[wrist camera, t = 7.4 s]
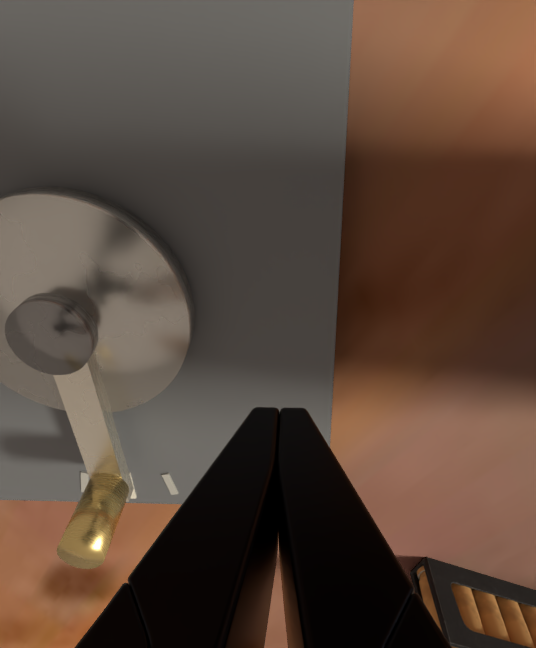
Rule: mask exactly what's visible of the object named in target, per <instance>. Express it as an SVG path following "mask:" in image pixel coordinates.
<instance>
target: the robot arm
mask: <svg viewBox="0 0 536 648" xmlns="http://www.w3.org/2000/svg"><path fill="white" fill-rule="evenodd" d="M278 534H279V557H280V570H281V580H282V590H283V601H284V611H285V622H286V632H287V642H288V648H452V647H451V645H450V644H449V642H448V641H447V639H446V638H445V636H444V635H443V633H442V631H441V630H440V628H439V627H438V625H437V624H436V622H435V620H434V619H433V617H432V615H431V614H430V612H429V610H428V609H427V607H426V605H425V604H424V602H423V600H422V599H421V597H420V596H419V594H417V593H414V590H415V589H414V586H413V585H412V583H411V581H410V580H409V578H408V576H407V575H406V573H405V571H404V570H403V568H402V566H401V565H400V563H399V561H398V560H397V558H396V556H395V555H394V553H393V551H392V550H391V548H390V546H389V545H388V543H387V542H386V540H385V538H384V537H383V535H382V533H381V532H380V530H379V528H378V527H377V525H376V523H375V522H374V520H373V518H372V517H371V515H370V513H369V512H368V510H367V508H366V507H365V505H364V503H363V502H362V500H361V498H360V497H359V495H358V494H357V492H356V490H355V489H354V487H353V485H352V484H351V482H350V480H349V479H348V477H347V475H346V474H345V472H344V470H343V469H342V467H341V465H340V464H339V462H338V460H337V459H336V457H335V455H334V454H333V452H332V451H331V449H330V447H329V446H328V444H327V442H326V441H325V439H324V437H323V436H322V434H321V432H320V431H319V429H318V427H317V426H316V424H315V422H314V421H313V419H312V417H311V416H310V414H309V412H308V411H307V410H306V409H305V408H287V407H285V408H282V409H281V410H280V412H279V409H278V408H276V407H256V408H254V409H252V411H251V412H250V413H249V415H248V416H247V417H246V419H245V420H244V421H243V423H242V424H241V425H240V427H239V428H238V429H237V431H236V432H235V434H234V435H233V436H232V438H231V439H230V440H229V442H228V443H227V444H226V446H225V447H224V448H223V450H222V451H221V452H220V454H219V455H218V457H217V458H216V459H215V461H214V462H213V463H212V465H211V466H210V467H209V469H208V470H207V471H206V473H205V474H204V476H203V477H202V478H201V480H200V481H199V482H198V484H197V485H196V486H195V488H194V489H193V490H192V492H191V493H190V494H189V496H188V497H187V499H186V500H185V501H184V503H183V504H182V505H181V507H180V508H179V509H178V511H177V512H176V513H175V515H174V516H173V518H172V519H171V520H170V522H169V523H168V524H167V526H166V527H165V528H164V530H163V531H162V532H161V534H160V535H159V536H158V538H157V539H156V541H155V542H154V543H153V545H152V546H151V547H150V549H149V550H148V551H147V553H146V554H145V555H144V557H143V558H142V560H141V561H140V562H139V564H138V565H137V566H136V568H135V569H134V570H133V572H132V573H131V574H130V576H129V577H128V583H129V584H128V583H124V584H123V585H122V586H121V587H120V589H119V590H118V592H117V593H116V594H115V596H114V597H113V598H112V600H111V601H110V602H109V604H108V605H107V607H106V608H105V609H104V611H103V612H102V613H101V615H100V616H99V617H98V618H97V620H96V621H95V622H94V624H93V625H92V626H91V627H90V629H89V630H88V631H87V633H86V634H85V635H84V636H83V638H82V639H81V640H80V642H79V643H78V644H77V645H76V647H75V648H264V644H265V637H266V630H267V623H268V616H269V609H270V602H271V595H272V588H273V582H274V575H275V568H276V560H277V551H278Z"/></svg>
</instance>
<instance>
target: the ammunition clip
mask: <svg viewBox="0 0 536 648" xmlns="http://www.w3.org/2000/svg"><path fill="white" fill-rule="evenodd" d="M410 574H411V578H412V582H413V586H414V589H415V593H417V594H419V596H420V597H421V599H422V600H423V602H424V604H425V605H426V607H427V609H428V610H429V612H430V614H431V615H432V617H433V619H434V620H435V622H436V624H437V625H438V627H439V628H440V630H441V631H442V633H443V635H444V636H445V638H446V639H447V641H448V642H449V644H450V645H451V647H452V648H536V590H533V589H530V588H526V587H523V586H520V585H517V584H513V583H510V582H507V581H504V580H500V579H497V578H494V577H490V576H487V575H484V574H481V573H477V572H474V571H471V570H468V569H464V568H461V567H458V566H454V565H451V564H448V563H445V562H441V561H438V560H435V559H432V558H428V557H426V558H425V559H423V560H422V561H421V562H420V563H419V564H418V565H417V566H416V567H415V568H414V569H413V570H412V571H411V572H410Z"/></svg>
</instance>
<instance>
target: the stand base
mask: <svg viewBox="0 0 536 648" xmlns="http://www.w3.org/2000/svg"><path fill="white" fill-rule="evenodd" d="M353 4H354V0H0V197H3V196H5V195H7V194H9V193H12V192H16V191H19V190H23V189H27V188H36V187H62V188H69V189H75V190H80V191H83V192H87V193H90V194H94V195H97V196H99V197H102V198H104V199H106V200H109V201H111V202H113V203H115V204H117V205H119V206H121V207H122V208H124V209H126V210H128V211H129V212H131V213H132V214H134V215H135V216H136V217H138V218H139V219H141V220H142V221H143V222H145V223H146V224H147V225H148V226H149V227H150V228H151V229H152V230H153V231H154V232H156V233H157V234H158V235H159V237H160V238H161V239H162V240H163V241H164V242H165V243H166V245H167V246H168V247H169V248H170V250H171V251H172V253H173V254H174V255H175V257H176V258H177V260H178V262H179V263H180V265H181V267H182V269H183V271H184V273H185V275H186V278H187V280H188V283H189V286H190V288H191V293H192V297H193V302H194V314H195V319H194V330H193V334H192V338H191V342H190V345H189V348H188V351H187V354H186V356H185V359H184V361H183V364H182V366H181V368H180V370H179V372H178V373H177V375H176V376H175V378H174V379H173V381H172V382H171V383H170V384H169V385H168V386H167V387H166V388H165V389H164V390H163V391H162V392H160V393H159V394H158V395H157V396H155V397H154V398H152V399H150V400H149V401H147V402H145V403H143V404H141V405H138V406H136V407H133V408H130V409H127V410H123V411H118V412H112V414H113V418H114V421H115V425H116V428H117V432H118V435H119V439H120V442H121V446H122V449H123V453H124V456H125V460H126V463H127V467H128V470H129V474H130V477H131V481H132V484H133V488H134V489H133V492H132V495H131V498H130V500H129V502H126V503H157V504H183V503H184V501H185V500H186V499H187V497H188V496H189V494H190V493H191V492H192V490H193V489H194V488H195V486H196V485H197V484H198V482H199V481H200V480H201V478H202V477H203V476H204V474H205V473H206V471H207V470H208V469H209V467H210V466H211V465H212V463H213V462H214V461H215V459H216V458H217V457H218V455H219V454H220V452H221V451H222V450H223V448H224V447H225V446H226V444H227V443H228V442H229V440H230V439H231V438H232V436H233V435H234V434H235V432H236V431H237V429H238V428H239V427H240V425H241V424H242V423H243V421H244V420H245V419H246V417H247V416H248V415H249V413H250V412H251V411H252V409H254V408H256V407H276V408H278V409H279V412H280V410H281V409H282V408H285V407H287V408H305V409H306V410H307V411H308V412H309V414H310V416H311V417H312V419H313V421H314V422H315V424H316V426H317V427H318V429H319V431H320V432H321V434H322V436H323V437H324V439H325V441H326V442H327V444H328V446H329V447H330V434H331V416H332V397H333V378H334V360H335V341H336V322H337V303H338V285H339V266H340V247H341V228H342V210H343V191H344V172H345V154H346V135H347V116H348V97H349V79H350V60H351V41H352V22H353ZM89 480H90V478H89V475H88V472H87V470H86V467H85V464H84V461H83V458H82V455H81V453H80V450H79V447H78V444H77V441H76V438H75V435H74V433H73V430H72V427H71V424H70V421H69V418H68V415H67V413H66V411H64V410H60V409H56V408H52V407H49V406H46V405H43V404H40V403H38V402H35V401H33V400H31V399H28V398H26V397H24V396H22V395H20V394H18V393H17V392H15V391H13V390H11V389H10V388H8V387H7V386H5V385H4V384H2V383H1V382H0V500H34V501H75V502H79V501H80V498H81V496H82V494H83V492H84V490H85V488H86V486H87V484H88V482H89Z"/></svg>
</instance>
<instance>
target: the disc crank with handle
mask: <svg viewBox="0 0 536 648" xmlns="http://www.w3.org/2000/svg"><path fill="white" fill-rule="evenodd" d="M194 319H195V314H194V302H193V297H192V293H191V288H190V286H189V283H188V280H187V278H186V275H185V273H184V271H183V269H182V267H181V265H180V263H179V262H178V260H177V258H176V257H175V255H174V254H173V253H172V251H171V250H170V248H169V247H168V246H167V245H166V243H165V242H164V241H163V240H162V239H161V238H160V237H159V235H158V234H157V233H156V232H154V231H153V230H152V229H151V228H150V227H149V226H148V225H147V224H146V223H145V222H143V221H142V220H141V219H139V218H138V217H136V216H135V215H134V214H132V213H131V212H129V211H128V210H126V209H124V208H122V207H121V206H119V205H117V204H115V203H113V202H111V201H109V200H106V199H104V198H102V197H99V196H97V195H94V194H90V193H87V192H83V191H80V190H75V189H69V188H62V187H36V188H27V189H23V190H19V191H16V192H12V193H9V194H7V195H5V196H3V197H0V382H1V383H2V384H4V385H5V386H7V387H8V388H10V389H11V390H13V391H15V392H17V393H18V394H20V395H22V396H24V397H26V398H28V399H31V400H33V401H35V402H38V403H40V404H43V405H46V406H49V407H52V408H56V409H60V410H64V411H66V413H67V415H68V418H69V421H70V424H71V427H72V430H73V433H74V435H75V438H76V441H77V444H78V447H79V450H80V453H81V455H82V458H83V461H84V464H85V467H86V470H87V472H88V475H89V478H90V480H89V482H88V484H87V486H86V488H85V490H84V492H83V494H82V496H81V498H80V501H79V503H78V505H77V507H76V509H75V511H74V513H73V515H72V518H71V520H70V522H69V524H68V526H67V528H66V530H65V532H64V534H63V537H62V539H61V541H60V543H59V545H58V547H57V554H58V556H59V557H60V558H61V559H62V560H63V561H64V562H66V563H67V564H69V565H71V566H74V567H77V568H83V569H91V568H96V567H98V566H100V565H101V564H102V563H103V562H104V559H105V556H106V554H107V551H108V548H109V546H110V543H111V540H112V538H113V535H114V532H115V529H116V527H117V524H118V521H119V519H120V516H121V513H122V511H123V508H124V505H125V503H126V502H129V500H130V498H131V495H132V492H133V489H134V488H133V484H132V481H131V477H130V474H129V470H128V467H127V463H126V460H125V456H124V453H123V449H122V446H121V442H120V439H119V435H118V432H117V428H116V425H115V421H114V418H113V414H112V412H118V411H123V410H127V409H130V408H133V407H136V406H138V405H141V404H143V403H145V402H147V401H149V400H150V399H152V398H154V397H155V396H157V395H158V394H159V393H160V392H162V391H163V390H164V389H165V388H166V387H167V386H168V385H169V384H170V383H171V382H172V381H173V379H174V378H175V376H176V375H177V373H178V372H179V370H180V368H181V366H182V364H183V361H184V359H185V356H186V354H187V351H188V348H189V345H190V342H191V338H192V334H193V330H194Z"/></svg>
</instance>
